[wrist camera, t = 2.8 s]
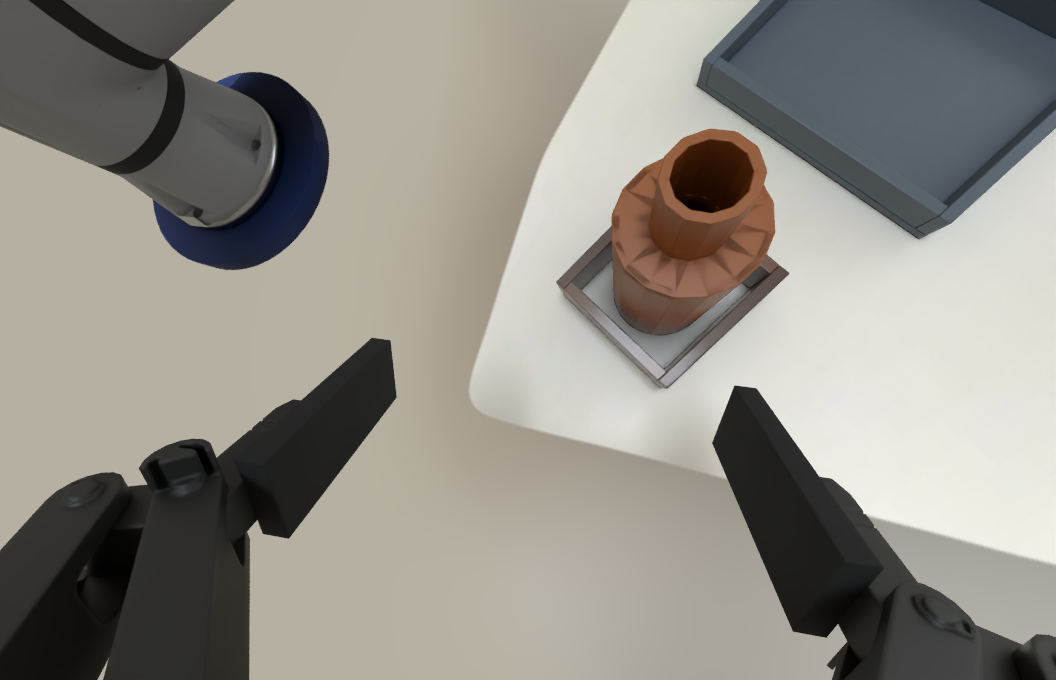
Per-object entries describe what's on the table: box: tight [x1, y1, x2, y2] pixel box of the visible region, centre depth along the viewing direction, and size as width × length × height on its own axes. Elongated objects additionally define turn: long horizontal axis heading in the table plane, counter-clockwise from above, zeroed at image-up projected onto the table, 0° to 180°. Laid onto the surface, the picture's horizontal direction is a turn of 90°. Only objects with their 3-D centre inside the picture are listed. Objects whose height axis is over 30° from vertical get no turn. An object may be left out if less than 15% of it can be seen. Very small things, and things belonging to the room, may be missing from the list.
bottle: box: [612, 129, 775, 335], centre depth 21 cm, size 7×7×17 cm
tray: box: [697, 0, 1056, 239], centre depth 26 cm, size 20×16×3 cm
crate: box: [557, 226, 789, 389], centre depth 28 cm, size 11×11×4 cm
